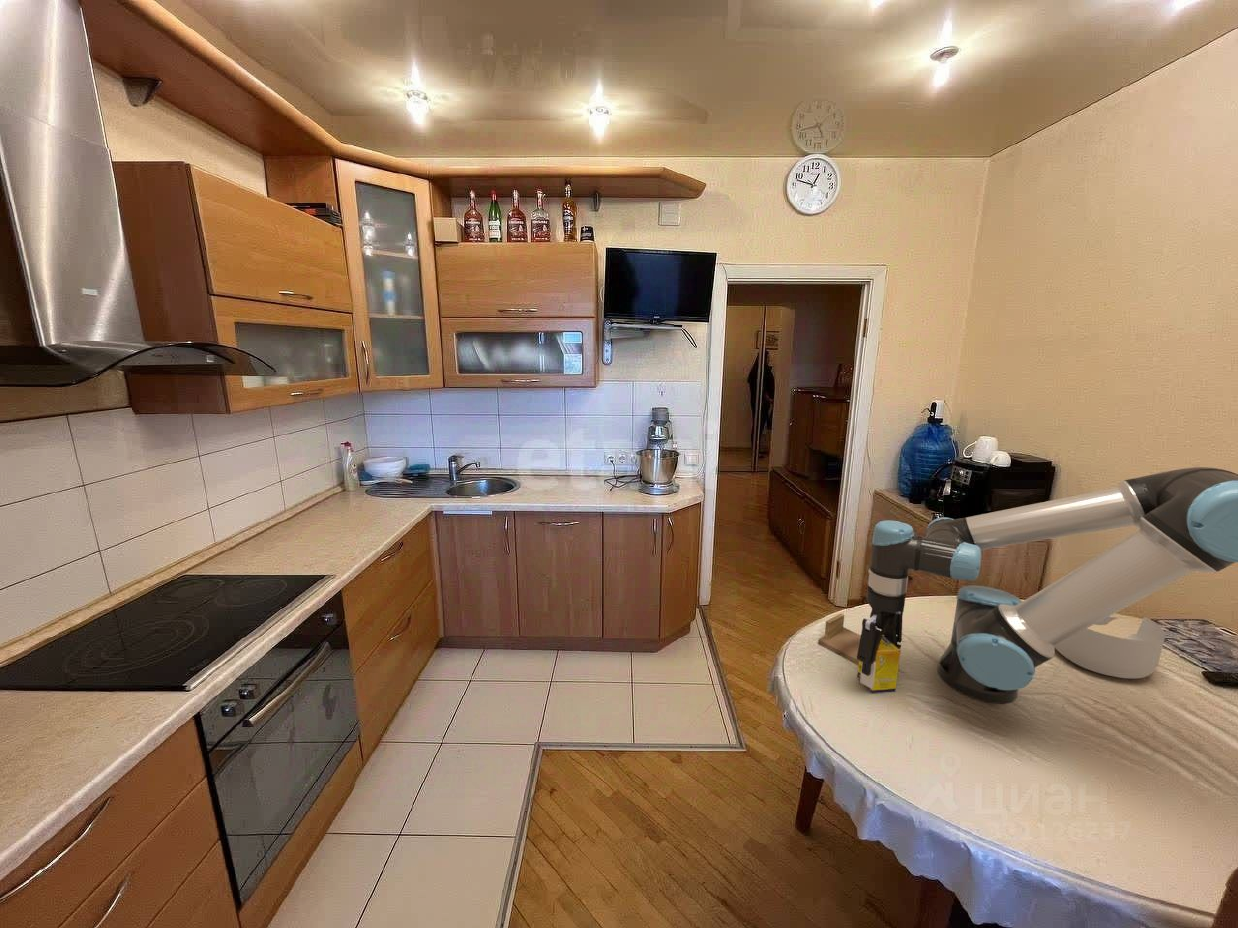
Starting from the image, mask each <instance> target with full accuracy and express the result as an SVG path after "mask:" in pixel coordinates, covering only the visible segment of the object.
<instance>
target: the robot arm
mask: <svg viewBox="0 0 1238 928" xmlns="http://www.w3.org/2000/svg"><path fill="white" fill-rule="evenodd" d="M1130 526H1133V527H1137V528H1139V529H1138V531H1136V532H1135V533H1133V534H1131V535H1129V536H1128V537H1127V538H1125V539H1123V540H1121V541H1120V542H1118V543H1117V544H1115V545H1113V546H1112V547H1110V548H1108V549H1107V550H1105V551H1103V552H1102V553H1100V554H1099V555H1097V556H1096V557H1094V558H1092V559H1090V560H1088V561H1087V562H1085V563H1084V564H1082V565H1081V566H1079V567H1077V568H1075V569H1074V570H1072V571H1071V572H1069V573H1067V574H1066V575H1064V576H1062V577H1061V578H1059V579H1057V580H1056V581H1054V582H1052V583H1051V584H1049V585H1048V586H1046V587H1044V588H1042V589H1041V590H1039V591H1037V592H1036V593H1034V594H1032V595H1031V596H1029V597H1027V598H1025V599H1024V600H1023V601H1022V600H1021V598H1019V597H1018V596H1016V595H1014V594H1011V593H1010V592H1007V591H1004V590H1001V589H997V588H994V587H988V586H985V585H965V586H962V587H960V588H959V590H958V593H957V596H956V605H955V614H954V621H953V625H952V633H951V640H950V643H949V644H948V646H947V648H946V649H945V651H944V652H943V654H942V655H941V657H940V659H938V660H939V661H938V666H937V672H938V673H937V674H938V675H939V677H940V678H941V679H942V681H944V683H945V684H946V685H948V686H949V687H951V688H952V689H954V690H955V691H957V692H959V693H961V694H962V695H965V696H966V697H969V698H972V699H975V700H978V701H982V702H987V703H993V704H1005V703H1006V704H1007V703H1011V702H1013V701H1015V700H1016V699H1017V697H1018V694H1019V689H1023V688H1025V687H1026V686H1028V685H1030V683H1031V682H1032V680H1033V679H1034V676H1035V674H1036V673H1035V672H1036V670H1035V669H1036V668H1037V667H1039V666H1041V665H1043V664H1044V663H1046V662H1048V661H1050V660H1053V659H1054V658H1055V654H1056V653H1055V652H1056V651H1055V650H1056V648H1055V646H1056V645H1057V644H1059V643H1060V642H1062V641H1064V640H1066V639H1068V638H1070V637H1072V636H1073V635H1075V634H1077V633H1079V632H1081V631H1083V630H1085V629H1089V628H1090V627H1093V626H1094V624H1096V623H1098V622H1100V621H1101V620H1103V619H1105V618H1107V617H1112V616H1113V615H1114V614H1116V613H1119V612H1120V611H1122V610H1124V609H1126V608H1127V607H1129V606H1131V605H1133V604H1135V603H1137V602H1139V601H1141V600H1142V599H1144V598H1146V597H1148V596H1150V595H1151V594H1154V593H1155V592H1158V591H1159V590H1161V589H1163V588H1165V587H1167V586H1168V585H1170V584H1172V583H1175V582H1176V581H1178V580H1180V579H1181V578H1184V577H1186V576H1187V575H1189V574H1191V573H1194V572H1202V573H1203V572H1204V573H1212V574H1213V573H1214V574H1215V573H1216V574H1217V573H1218V572H1220V571H1222V570H1224V569H1226V568H1228V567H1230V566H1232V565H1233V564H1235V563H1238V474H1237V473H1235V472H1233V471H1230V470H1226V469H1223V468H1217V467H1208V466H1207V467H1203V466H1200V467H1198V466H1197V467H1186V468H1180V469H1173V470H1169V471H1163V472H1162V471H1161V472H1158V473H1154V474H1149V475H1145V476H1144V475H1143V476H1139V477H1134V478H1130V479H1124V480H1121V481H1120V482H1119V483H1118V485H1116V486H1115V487H1112V488H1106V489H1102V490H1096V491H1091V492H1087V493H1081V494H1077V495H1073V496H1067V497H1061V498H1058V499H1053V500H1047V501H1044V502H1037V503H1036V502H1035V503H1032V504H1027V505H1022V506H1017V507H1012V508H1007V509H1002V510H997V511H993V512H988V513H981V514H977V515H972V516H967V517H962V518H955V519H954V518H951V517H944V516H942V517H938V518H935V519H932V521H931V522H929V524H928V526H927V528H926V530H925V534H924V536H921V535H916V534H915V533H914V528H913V526H912V525H910V524H909V523H906V522H901V521H898V520H889V519H888V520H882V521H881V520H880V521H879V522H877V523H876V524H875V526H874V529H873V535H872V541H871V550H870V562H869V569H868V572H867V573H868V574H869V575H868V586H867V588H866V589H867V590H866V603H867V604H868V605H869V606H870V608H871V612H870V615H869V617H870V618H869V619H866V618H863V619H862V621H861V623H862V624H861V634H860V635H861V638H860V643H859V648H858V654H857V659H858V660H860V661H862V669H861V679H859V683H860V684H861V685H864V686H865V687H866V686H867V687H869V688H871V689H872V688H873V686H874V677H875V669H876V662H874V660H875V657H876V654H877V650H878V647H879V644H880V641H881V638H882V636H885V637H886V638H887V639H888V640H889V641H890V642H891V643H893V644H894V645H895V646H896V647H897V648H898V649H899V650H901V648H902V646H901V645H900V644H899V643H901V642H902V639H903V615H904V609H905V606H906V605H905V604H906V603H905V602H906V596H907V595H906V593H907V590H908V581H909V571H910V570H912V571H915V572H920V573H925V574H930V575H935V576H936V575H937V576H940V577H945V578H951V579H952V580H961V581H962V580H964V581H970V582H972V581H973V582H974V581H976V580H977V579H978V577H979V576H980V570H981V566H982V565H981V562H982V551H983V550H987V549H993V548H1000V547H1007V546H1012V545H1018V544H1019V545H1020V544H1025V543H1031V542H1032V543H1033V542H1037V541H1044V540H1049V539H1050V540H1051V539H1057V538H1062V537H1069V536H1075V535H1076V536H1077V535H1082V534H1087V533H1094V532H1102V531H1106V530H1112V529H1119V528H1125V527H1130ZM867 687H866V688H867Z"/></svg>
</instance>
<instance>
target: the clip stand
mask: <svg viewBox="0 0 1238 928" xmlns="http://www.w3.org/2000/svg"><path fill="white" fill-rule="evenodd" d="M844 622H845V614H843V613H839V614H837V615H835V616H833V617H832V618H829V619H828V620H826V621H825V626H824V627H825V628H824V629H825V631H824V636H822V637H821V638H819V639H818V641H817V644H818V645H820V646H822V647H824V648H825V649H827V650H830V651H831V652H834V653H835V654H837V655H839V656H841V657H842V658H845V659H846V660H848V661H849V662H852V663H854V664H856V665H857V666H858V665H859V660H858V659H857V654H858V648H859V643H860V638H861V634H859V633H857V632H855V631H852V630H851V629H849V628H847V627H844Z"/></svg>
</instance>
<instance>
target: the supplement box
mask: <svg viewBox="0 0 1238 928" xmlns="http://www.w3.org/2000/svg"><path fill="white" fill-rule="evenodd" d="M900 656H901V649H898V648H897V647H896V646H895V645H894V644H893V643H891V642H890V641H889V640H888V639H887V638H886V637H885V636H884V635H883V636H882V638H881V641H880V644H879V647H878V650H877V654H876V657H875V660H874V662H876V669H875V677H874V686H873V688H872V689H871V688H869V687H867V686H866V685H865V687H866V688H867V689H868V690H869V692H870V694H879V693H890V692H891V693H892V692H896V689H897V680H898V674H899V673H898V672H899V665H900V659H901V657H900ZM857 666H858V667H857V678H858V679H859V680H860V679H861V669H862V661H860V660H859V665H857Z"/></svg>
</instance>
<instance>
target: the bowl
mask: <svg viewBox="0 0 1238 928" xmlns="http://www.w3.org/2000/svg"><path fill="white" fill-rule="evenodd" d="M1116 619H1118V617H1114V616H1109V617H1107V618H1105V619H1103V620H1101V621H1100V622H1098V623H1096V624H1094V625H1097V626H1106V625H1108V624H1110V623H1111V622H1112V621H1114V620H1116ZM1094 625H1093V626H1094ZM1165 638H1166V633H1165V631H1164V629H1163V628H1162V627H1161V626H1160V625H1159V624H1158V623H1157V622H1155V621H1153V620H1151V619H1149V618H1148V617H1146V616H1144V617H1143V618H1142V620H1141V623H1140V624H1139V628H1138V630H1137V632H1136V633H1134V634H1131V635H1128V636H1127V637H1124V638H1123V637H1117V636H1114V635H1110V634H1105V633H1102V632H1099V631H1096V630H1093V629H1089V628H1087V629H1085V630H1083V631H1081V632H1079V633H1077V634H1075V635H1073V636H1072V637H1070V638H1068V639H1066V640H1064V641H1062V642H1060V643H1059V644H1057V645H1056V646H1055V650H1057V651H1058V652H1059V653H1060V654H1061V655H1062V656H1063V657H1064V658H1066V659H1067V660H1069V661H1070V662H1072V663H1074V664H1075V665H1078V666H1079V667H1081V668H1083V669H1087V670H1089V671H1092V672H1094V673H1098V674H1101V675H1104V676H1110V677H1113V678H1121V679H1132V680H1133V679H1134V680H1135V679H1143V678H1146V677H1148V676H1150V675H1152V673H1153V672H1154V671H1155V670H1156V669H1157V667H1158V664H1159V661H1160V658H1161V654H1162V650H1163V647H1164V643H1165Z"/></svg>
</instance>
